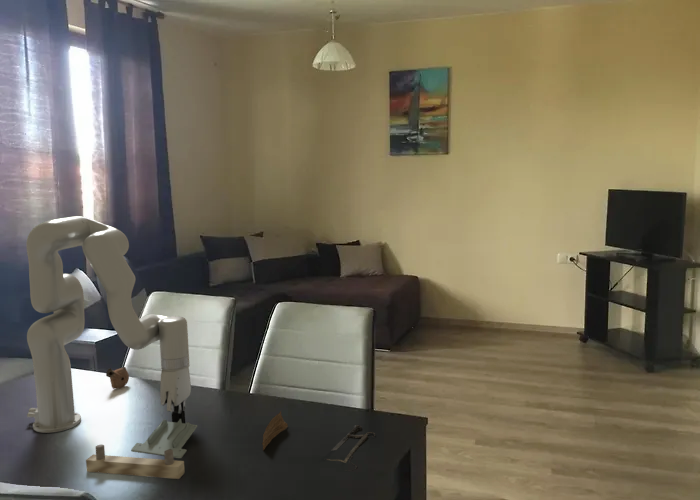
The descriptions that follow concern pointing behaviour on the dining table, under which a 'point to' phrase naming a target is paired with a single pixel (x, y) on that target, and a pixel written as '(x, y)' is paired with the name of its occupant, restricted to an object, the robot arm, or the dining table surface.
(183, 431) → the metal bracket
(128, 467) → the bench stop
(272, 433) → the wood plank
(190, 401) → the dining table surface
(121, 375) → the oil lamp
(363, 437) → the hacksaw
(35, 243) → the robot arm
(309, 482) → the dining table surface
